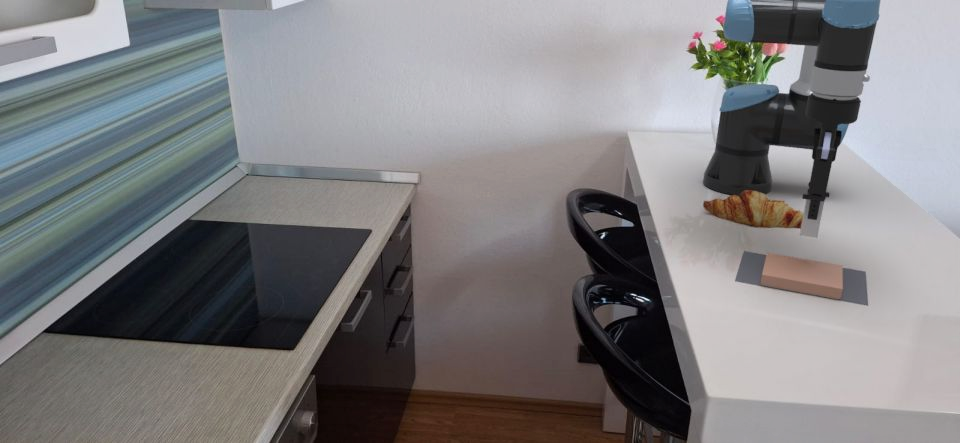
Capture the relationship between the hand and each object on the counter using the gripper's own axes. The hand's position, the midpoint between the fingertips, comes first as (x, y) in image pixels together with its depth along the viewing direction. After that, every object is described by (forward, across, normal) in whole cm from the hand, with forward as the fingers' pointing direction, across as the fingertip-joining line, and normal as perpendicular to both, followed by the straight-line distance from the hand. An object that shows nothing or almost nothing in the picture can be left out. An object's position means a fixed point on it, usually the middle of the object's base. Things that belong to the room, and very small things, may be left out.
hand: (808, 234), depth 125 cm
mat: (+8, -1, 0) cm, 8 cm away
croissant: (+9, +24, +10) cm, 27 cm away
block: (+6, +2, 0) cm, 6 cm away
